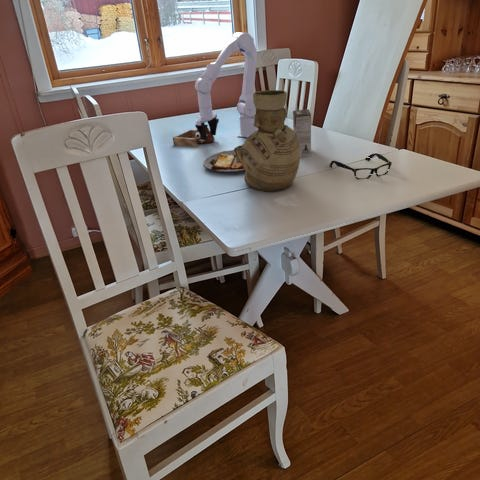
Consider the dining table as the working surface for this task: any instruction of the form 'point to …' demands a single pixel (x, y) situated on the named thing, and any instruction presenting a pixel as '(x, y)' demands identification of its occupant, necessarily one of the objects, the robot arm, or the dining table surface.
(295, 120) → the coffee box
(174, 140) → the brown u-shaped block
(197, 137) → the poop emoji
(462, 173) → the dining table surface
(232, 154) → the food plate
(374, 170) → the glasses
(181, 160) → the dining table surface
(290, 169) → the ceramic vessel
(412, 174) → the dining table surface
